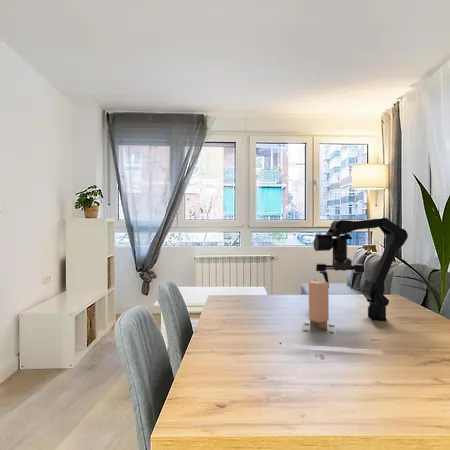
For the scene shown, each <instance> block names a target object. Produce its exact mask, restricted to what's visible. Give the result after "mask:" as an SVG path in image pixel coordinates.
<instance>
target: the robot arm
mask: <svg viewBox="0 0 450 450" xmlns="http://www.w3.org/2000/svg"><path fill="white" fill-rule="evenodd" d="M375 228H376V229H377V228H379V229H380V230H381V232H382V234H384V235H385V238H384V243H385V247H384V249H383V252H382V255H381V257H380V259H379V262H378V264H377V267H376V268H375V272H374V274H373V276H372V278H370V280H368V279H366V280H365V282H364V284H363V287H362V288H361V289H362V295H363V297H364V298H365V300H366V301H367V302H368V306H367V317H368V319H371V320H373V321H387V320H388V319H387V307H388V306H389V303H390V300H389V299H388V297H386V296H385V288H386V287H385V282H386V279H387V276H388V275H389V271H390V269H391V267H392V264H393V262H394V259H395V257H396V255H397V252H398V251H399V249H401V248H402V247H403V246H404V245H405V243H406V241H407V240H408V237H409V234H408V232H407V230H406V229H405V228H401V227H400V226H399V225H397V224H396V223H394V222H393V221H391V220H390V219H389V218H388V217H377V218H369V219H360V220H358V219H357V220H347V219H336V220H333V221H332V223H330V228H329V229H328V230H327V232H326V233H325V234H320V233H318V234H317V233H316V234H315V237H314V240H313V242H312V243H313V250H314V251H315V252H323V251H324V252H330V251H331V250H332V264H327V263H326V262H318V263H317V264H316V266H315V267H316V268H315V271H317V272H319V274H322V276H323V278H324V280H325V281H324V282H328V289H330V282H329V275H328V270H332V271H333V270H334V271H337V272H338V271H343V272H344V271H352V274H351V284H350V289H351V290H353V288H354V285H355V282H356V280H357V277H358V275H362V273H365V265H364V264H363V263H353V262H352V258H351V257H348V240H353V237H352V236H351V235H349V233H351V232H354V231H357V230H366V229H375Z"/></svg>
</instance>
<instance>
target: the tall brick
mask: <svg viewBox="0 0 450 450" xmlns="http://www.w3.org/2000/svg"><path fill="white" fill-rule="evenodd" d="M329 299H330V298H329V288H328V282H326V281H320V280H316V281H315V280H314V281H309V282H308V320H309V321H310V320H312V321H315V322H324V321H327V322H328V321H329V315H330V314H329V313H330V311H329V307H330V306H329V304H330V302H329Z"/></svg>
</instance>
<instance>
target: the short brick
mask: <svg viewBox="0 0 450 450" xmlns="http://www.w3.org/2000/svg"><path fill="white" fill-rule="evenodd" d="M309 324H310V330H319V331H327V325H328V321H324V322H315V321H312V320H309Z"/></svg>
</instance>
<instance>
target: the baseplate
mask: <svg viewBox="0 0 450 450" xmlns="http://www.w3.org/2000/svg"><path fill="white" fill-rule="evenodd" d="M336 325H337V324H333V323H329V324H327V331H319V330H310V322H303V324H302V328H301V331H300V332H302V333H311V334H312V333H314V334H329V335H330V334H332V335H336V334H337V331H336Z"/></svg>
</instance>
